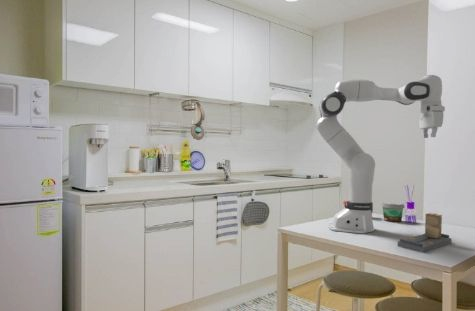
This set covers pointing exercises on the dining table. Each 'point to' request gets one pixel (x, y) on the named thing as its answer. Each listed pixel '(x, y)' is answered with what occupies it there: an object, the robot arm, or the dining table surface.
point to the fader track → (424, 242)
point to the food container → (392, 212)
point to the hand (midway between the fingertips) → (429, 137)
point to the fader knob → (433, 225)
